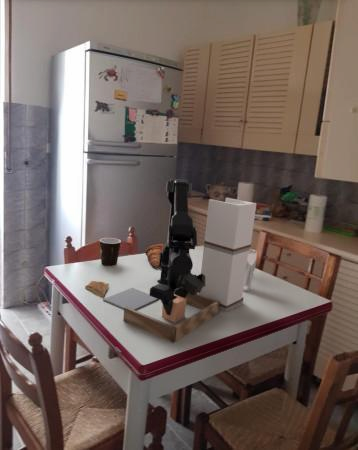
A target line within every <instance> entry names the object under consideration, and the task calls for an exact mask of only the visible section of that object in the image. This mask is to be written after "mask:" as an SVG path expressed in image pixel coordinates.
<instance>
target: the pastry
mask: <svg viewBox="0 0 358 450" xmlns="http://www.w3.org/2000/svg"><path fill="white" fill-rule="evenodd" d="M164 244H165V243H164ZM164 244H163V243H157V244H153V245H150V246H149V247H147V248H146V250H145V256H146V258H147V261H148V263H149V264H150V266H151V267H152V268H154V269H157V270H158V269H160V268H159V257H160V252H162V247H163V245H164ZM161 263H162V262H161Z"/></svg>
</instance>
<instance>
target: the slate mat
mask: <svg viewBox="0 0 358 450" xmlns="http://www.w3.org/2000/svg"><path fill="white" fill-rule="evenodd" d="M149 294H150V293H147V292H145V291H142V290H139V289H136V288H134V287H130V288H128V289H125V290H123V291H119V292H117V293H115V294H113V295H110V296H108V297H103V299H102V300H103V302H106V303H108V304H110V305H112V306H115V307H118V308H119V309H122V310H124V308H125V307H128V308H131V309H133V310H136V311H137V310H139V309H141V308H143V307H146V306H148V305H150V304H152V303H154V302H156V301H158V300H159V299H157V298H155V297H152V296H150V295H149Z"/></svg>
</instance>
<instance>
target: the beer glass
mask: <svg viewBox="0 0 358 450" xmlns="http://www.w3.org/2000/svg"><path fill="white" fill-rule="evenodd" d="M257 257H258V251H257V250H256V249H254V248H253V249H252V248H250V254H248V257H247V264H246V272H245V279H244V286H243V292H248V291H249V292H250V291H251V290H252V278H253V276H254V272H255V269H256V264H257Z"/></svg>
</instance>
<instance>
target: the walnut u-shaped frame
mask: <svg viewBox="0 0 358 450" xmlns="http://www.w3.org/2000/svg"><path fill="white" fill-rule="evenodd" d="M174 294H175V293H174ZM186 304H189V305H190V306H194V307H197V308H199V309H200V311H199V310H198V312H196V313H194V314H192V315H190V316H189V317H188V318H186V319H184V320H183V321H181V322H179V323H177V324H176V325H174V326H173V325H171V324H169V323H167V322H164V321H162V320H159V319H156V318H155V317H151V316H150V315H147V314H145V313H142V312H139V311H137V310H133V309H131V308H128V307H125V308H124V309H123V321H124V322H126V323H128V324H131V326H132V325H133V326H135V327H136V328H139V329H142V330H143V331H146V332H148V333H151V334H152V335H155V336H157V337H159V338H161V339H163V340H165V341H168V342H170V343H173V344H174V343H176V342H177V341H178V340H180V339H181V338H184V337H185V336H187V335H188V334H189V333H191V332H192V331H194V330H196V329H197V328H198V327H200V326H202V325H203V324H205V323H206V322H208V321H210V320H211V319H213V318H214V317H215V316H217V315H218V314H219V313H220V309H219V307H220V301H217V300H214V299H211V298H208V297H205V296H202V295H200V294H199V293H197V294H196V295H191V294H189V293H188V294H187V296H186Z"/></svg>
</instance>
